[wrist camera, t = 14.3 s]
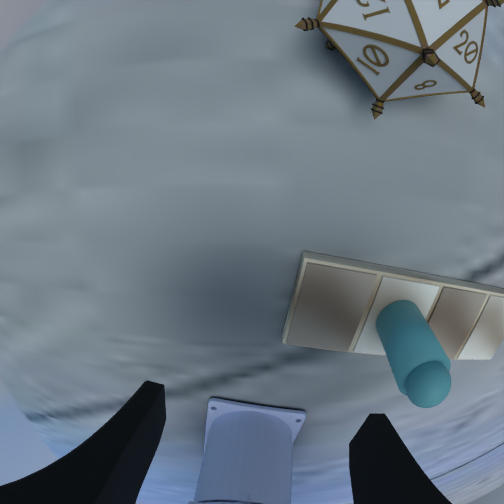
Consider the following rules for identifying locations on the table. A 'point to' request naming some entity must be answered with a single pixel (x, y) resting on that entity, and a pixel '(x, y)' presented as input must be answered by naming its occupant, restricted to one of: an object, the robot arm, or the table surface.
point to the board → (381, 295)
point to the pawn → (414, 354)
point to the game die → (407, 44)
